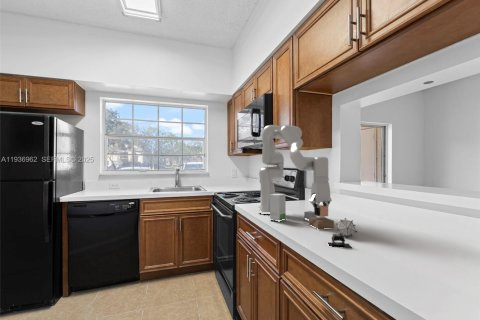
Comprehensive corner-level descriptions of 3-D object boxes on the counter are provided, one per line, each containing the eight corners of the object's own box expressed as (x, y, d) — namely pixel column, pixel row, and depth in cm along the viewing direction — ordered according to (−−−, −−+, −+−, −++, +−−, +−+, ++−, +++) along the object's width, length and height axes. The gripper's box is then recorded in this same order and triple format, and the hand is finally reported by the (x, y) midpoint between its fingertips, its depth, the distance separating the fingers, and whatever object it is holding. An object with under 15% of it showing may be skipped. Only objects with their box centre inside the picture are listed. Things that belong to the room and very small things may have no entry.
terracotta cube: (314, 215, 122) (314, 205, 122) (321, 214, 124) (321, 205, 124) (321, 217, 117) (321, 207, 118) (328, 216, 120) (328, 206, 120)
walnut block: (309, 225, 124) (309, 217, 124) (323, 225, 126) (323, 216, 126) (318, 230, 115) (318, 221, 115) (333, 229, 117) (333, 220, 117)
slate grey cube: (304, 220, 137) (304, 211, 137) (310, 219, 139) (310, 211, 139) (310, 221, 132) (310, 213, 133) (316, 221, 135) (316, 212, 135)
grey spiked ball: (344, 245, 103) (332, 228, 102) (341, 233, 111) (330, 217, 110) (363, 238, 99) (351, 220, 98) (359, 226, 107) (348, 210, 106)
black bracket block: (351, 244, 95) (351, 233, 95) (357, 250, 88) (357, 238, 88) (320, 242, 97) (320, 231, 97) (324, 248, 90) (324, 237, 90)
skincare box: (279, 222, 130) (279, 195, 130) (269, 220, 134) (269, 194, 134) (286, 220, 136) (286, 193, 137) (276, 218, 140) (276, 193, 141)
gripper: (326, 179, 129) (327, 212, 128) (303, 180, 121) (303, 214, 120) (337, 180, 122) (338, 214, 121) (314, 180, 114) (314, 217, 114)
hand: (321, 214), depth 121 cm, fingers closed on terracotta cube, 5 cm apart
